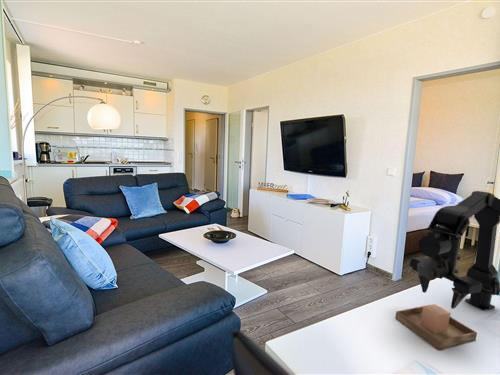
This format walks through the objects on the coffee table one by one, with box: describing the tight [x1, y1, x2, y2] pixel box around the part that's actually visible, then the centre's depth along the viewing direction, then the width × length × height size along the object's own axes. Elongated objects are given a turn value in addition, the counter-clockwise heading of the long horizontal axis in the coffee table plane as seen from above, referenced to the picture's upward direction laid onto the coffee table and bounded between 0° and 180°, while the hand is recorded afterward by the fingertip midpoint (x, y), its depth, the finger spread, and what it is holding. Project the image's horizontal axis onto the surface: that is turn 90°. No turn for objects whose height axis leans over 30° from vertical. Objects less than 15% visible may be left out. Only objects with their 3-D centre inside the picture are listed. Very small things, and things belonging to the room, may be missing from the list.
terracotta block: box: [421, 303, 451, 334], centre depth 88 cm, size 5×5×6 cm
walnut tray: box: [395, 304, 478, 351], centre depth 88 cm, size 15×15×2 cm
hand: (437, 299), depth 87 cm, fingers open, 9 cm apart
